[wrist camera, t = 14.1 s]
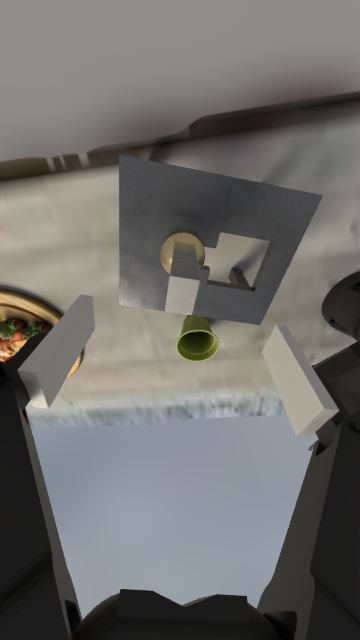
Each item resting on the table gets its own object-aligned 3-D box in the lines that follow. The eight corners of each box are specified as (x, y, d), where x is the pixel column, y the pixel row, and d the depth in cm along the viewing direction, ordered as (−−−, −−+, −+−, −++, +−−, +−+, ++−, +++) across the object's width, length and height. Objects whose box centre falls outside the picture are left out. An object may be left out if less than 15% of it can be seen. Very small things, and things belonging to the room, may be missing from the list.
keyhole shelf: (273, 185, 36) (322, 195, 23) (239, 281, 47) (260, 325, 34) (144, 159, 34) (119, 154, 22) (138, 264, 45) (119, 304, 32)
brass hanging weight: (204, 221, 33) (221, 271, 17) (196, 256, 36) (205, 326, 20) (168, 214, 32) (151, 260, 17) (163, 250, 36) (146, 318, 20)
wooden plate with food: (77, 387, 71) (65, 410, 64) (-32, 360, 64) (-58, 383, 57) (92, 314, 53) (79, 335, 46) (-56, 266, 46) (-96, 283, 40)
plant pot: (177, 306, 51) (176, 328, 44) (217, 308, 51) (222, 331, 44) (176, 336, 56) (174, 360, 49) (211, 338, 56) (215, 362, 49)
